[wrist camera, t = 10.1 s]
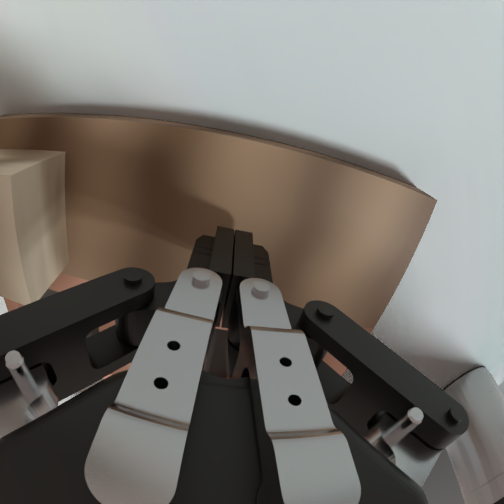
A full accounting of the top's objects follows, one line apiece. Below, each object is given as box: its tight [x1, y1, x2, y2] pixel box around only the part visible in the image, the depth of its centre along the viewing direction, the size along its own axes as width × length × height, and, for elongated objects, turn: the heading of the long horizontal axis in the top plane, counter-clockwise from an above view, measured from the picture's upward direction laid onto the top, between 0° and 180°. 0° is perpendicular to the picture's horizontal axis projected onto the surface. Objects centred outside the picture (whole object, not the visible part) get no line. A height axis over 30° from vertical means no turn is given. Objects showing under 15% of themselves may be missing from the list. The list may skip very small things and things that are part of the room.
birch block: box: [0, 149, 70, 305], centre depth 10 cm, size 6×6×4 cm
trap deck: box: [0, 113, 437, 379], centre depth 14 cm, size 25×18×5 cm
